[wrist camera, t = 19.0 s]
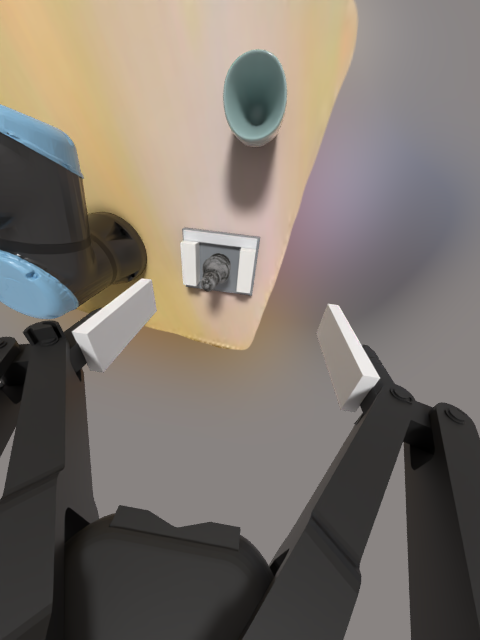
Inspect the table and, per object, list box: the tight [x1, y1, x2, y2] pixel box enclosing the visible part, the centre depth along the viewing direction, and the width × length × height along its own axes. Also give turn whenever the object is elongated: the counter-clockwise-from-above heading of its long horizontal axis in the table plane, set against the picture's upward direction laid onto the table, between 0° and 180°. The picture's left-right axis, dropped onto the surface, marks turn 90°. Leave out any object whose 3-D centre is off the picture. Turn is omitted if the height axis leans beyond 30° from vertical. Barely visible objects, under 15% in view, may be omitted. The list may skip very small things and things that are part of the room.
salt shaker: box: [200, 253, 231, 291], centre depth 40 cm, size 6×6×12 cm
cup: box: [223, 49, 287, 147], centre depth 29 cm, size 8×8×10 cm
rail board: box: [180, 228, 260, 296], centre depth 45 cm, size 16×13×4 cm
